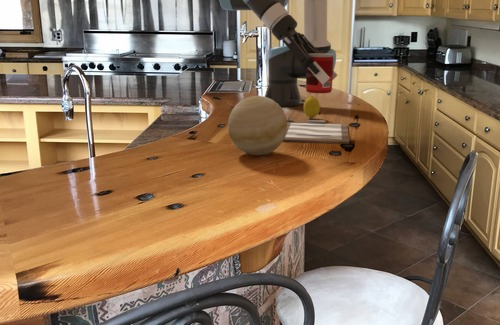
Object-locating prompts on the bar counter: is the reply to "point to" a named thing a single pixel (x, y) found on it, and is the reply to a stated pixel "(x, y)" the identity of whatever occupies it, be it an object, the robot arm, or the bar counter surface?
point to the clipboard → (317, 132)
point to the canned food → (327, 65)
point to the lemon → (311, 107)
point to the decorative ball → (257, 125)
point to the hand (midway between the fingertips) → (330, 79)
